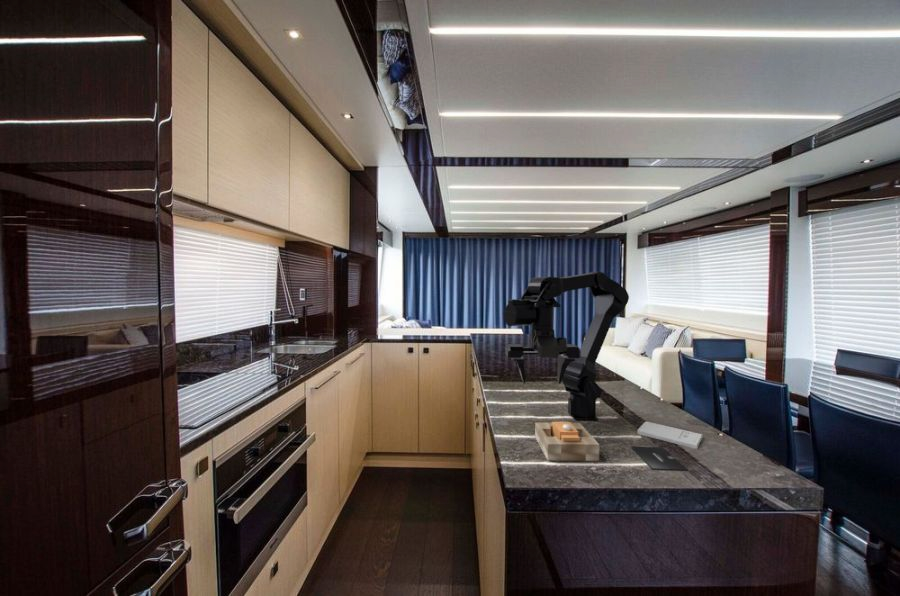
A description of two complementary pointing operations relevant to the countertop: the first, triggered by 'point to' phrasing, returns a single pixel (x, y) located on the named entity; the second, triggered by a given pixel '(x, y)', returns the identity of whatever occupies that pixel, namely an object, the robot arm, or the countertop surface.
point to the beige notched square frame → (566, 444)
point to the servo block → (565, 431)
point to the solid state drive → (659, 458)
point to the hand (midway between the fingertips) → (541, 383)
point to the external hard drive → (670, 434)
